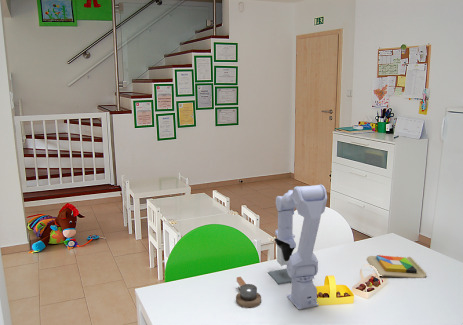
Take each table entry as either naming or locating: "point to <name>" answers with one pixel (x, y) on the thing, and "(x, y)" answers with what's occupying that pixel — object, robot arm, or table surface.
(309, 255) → the robot arm
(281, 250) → the translucent grey block
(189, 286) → the table surface
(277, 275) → the mat
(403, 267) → the wooden puzzle
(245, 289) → the small saucepan
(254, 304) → the base
